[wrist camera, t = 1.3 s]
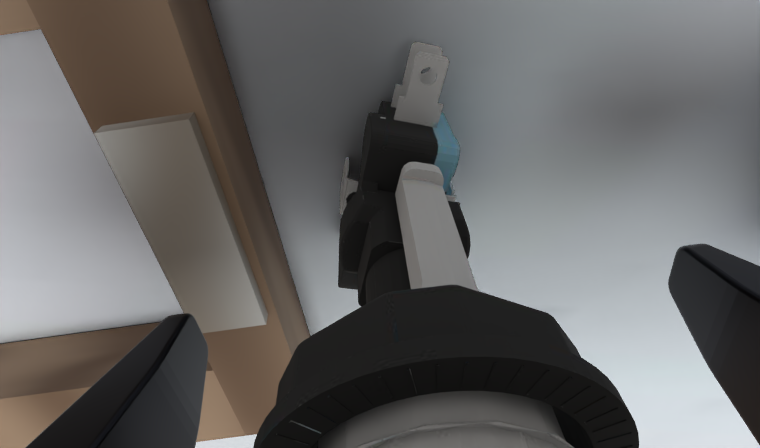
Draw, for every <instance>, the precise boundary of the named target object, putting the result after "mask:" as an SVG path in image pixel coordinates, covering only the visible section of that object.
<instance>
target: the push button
mask: <svg viewBox="0 0 760 448" xmlns="http://www.w3.org/2000/svg"><path fill="white" fill-rule="evenodd" d="M442 53H443V51H442V50H441V48H440V47H438V46H433V45H429V44H424V43H419V42H414V43H413V44H411V48H410V52H409V56H408V61H407V65H406V69H405V73H404V77H403V81H402V85H400V84H396V86H395V90H394V94H393V99H392V103H391V102H385V101H382V102H381V104H380V108H379V112H378V114H377V113H372V112H370V113H369V114H368V117H367V122H366V127H365V132H364V139H363V150H362V161H361V171H360V177H359V181H357V180H351V179H349V158H348V157H346V159H345V164H344V170H343V175H342V180H341V187H340V212H339V214H340V215H342V218H341V223H340V238H339V276H338V286H339V287H340V288H348V289H357V290H358V303H359V305H360V306H361V307H360V308H359V309H357V310H355V311H353V312H352V313H350V314H348V315H347V316H345V317H343V318H341V319H340V320H338V321H336V322H335V323H333V324H331V325H329V326H328V327H326V328H324V329H323V330H321V331H319V332H317V333H316V334H314V335H312V336H310V337H309V338H307V339H305V340H304V341H302V342H301V343H300V344H299V345H298V346H297V348H296V350H295V352H294V354H293V356H292V358H291V360H290V362H289V364H288V366H287V368H286V370H285V372H284V374H283V376H282V378H281V380H280V382H279V385H278V391H277V398H276V405H275V406H274V408H273V409H272V410H271V411H270V413H269V414H268V415H267V417H266V418H265V420H264V422H263V423H262V425H261V427H260V429H259V431H258V434H257V436H256V439H255V442H254V448H639V438H638V431H637V428H636V424H635V421H634V420H633V418H632V416H631V414H630V412H629V410H628V409H627V407H626V405H625V403H624V401H623V400H622V398H621V396H620V394H619V392H618V391H617V389H616V387H615V386H614V385H613V384H612V382H611V381H610V380H609V379H608V377H606V376H605V375H604V374H603V373H602V372H601V371H600V370H599V369H597V368H596V367H595V366H593V365H592V364H590V363H589V362H587V361H586V360H584V359H583V358H581V356H580V354H579V353H578V351H577V349H576V347H575V346H574V345H573V343H572V342H571V340H570V339H569V338H568V336H567V335H566V334H565V332H564V331H563V330H562V328H561V327H560V325H559V324H558V323H557V321H556V320H555V319H554V317H552V316H551V315H549V314H548V313H545V312H542V311H539V310H536V309H533V308H529V307H526V306H523V305H520V304H517V303H514V302H511V301H507V300H504V299H501V298H498V297H495V296H492V295H488V294H485V293H482V292H479V290H478V288H477V286H476V283H475V280H474V277H473V274H472V271H471V268H470V265H469V262H468V260H467V259H468V256H469V251H470V235H469V231H468V228H467V225H466V222H465V219H464V216H463V214H462V211H461V208H460V206H459V205H460V203H459V202H455V199H456V195H454V189H453V186H452V183H451V178H452V176H454V173H455V170H456V167H457V164H458V160H459V156H460V146H459V143H458V141H457V139H455V137H454V135H453V133H452V131H451V129H450V126H449V124H448V122H447V120H446V118H445V116H444V114H443V113H442V108H443V104H440V103H438V100H439V97H440V93H441V90H442V86H443V83H444V79H445V76H446V73H447V69H448V66H449V60H448V58H447V57H445V56H442ZM425 68H430V69H429V70H428V71H427V72H425V73H421V71H422V70H423V69H425ZM435 78H436V79H435Z"/></svg>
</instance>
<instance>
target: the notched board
mask: <svg viewBox="0 0 760 448" xmlns="http://www.w3.org/2000/svg"><path fill="white" fill-rule="evenodd" d="M38 29H41V30H42V32H43V34H44V36H45V38H46V40H47V42H48V44H49V46H50V48H51V50H52V52H53V54H54V56H55V58H56V60H57V62H58V64H59V66H60V68H61V70H62V72H63V74H64V76H65V78H66V80H67V82H68V84H69V86H70V88H71V90H72V92H73V94H74V96H75V98H76V100H77V102H78V104H79V106H80V108H81V110H82V112H83V113H84V115H85V117H86V119H87V121H88V123H89V125H90V127H91V129H92V131H93V133H94V135H95V137H96V139H97V141H98V143H99V145H100V147H101V149H102V151H103V153H104V155H105V157H106V159H107V161H108V163H109V165H110V167H111V169H112V171H113V173H114V175H115V177H116V179H117V181H118V183H119V185H120V187H121V189H122V191H123V193H124V195H125V197H126V199H127V201H128V203H129V205H130V207H131V209H132V211H133V213H134V215H135V217H136V219H137V221H138V223H139V225H140V227H141V229H142V231H143V233H144V235H145V237H146V238H147V240H148V242H149V244H150V246H151V248H152V250H153V252H154V254H155V256H156V258H157V260H158V262H159V264H160V266H161V268H162V270H163V272H164V274H165V276H166V278H167V280H168V282H169V284H170V286H171V288H172V290H173V292H174V294H175V296H176V298H177V300H178V302H179V304H180V306H181V308H182V310H183V312H184V314H185V313H189V314H192V315H193V316H194V318H195V319H196V321H197V323H198V326H199V328H200V330H201V332H202V334H203V336H204V338H205V340H206V342H207V345H208V361H207V369H206V377H205V385H204V393H203V401H202V409H201V417H200V424H199V431H198V435H197V440H196V442H200V441H207V440H215V439H223V438H230V437H238V436H245V435H253V434H258V431H259V429H260V427H261V425H262V423H263V422H264V420H265V418H266V417H267V415H268V414H269V413H270V411H271V410H272V409H273V408H274V406H275V405H276V398H277V391H278V385H279V382H280V380H281V378H282V376H283V374H284V372H285V370H286V368H287V366H288V364H289V362H290V360H291V358H292V356H293V354H294V352H295V350H296V348H297V346H298V345H299V344H300V343H301V342H302V341H304V340H305V339H307V338H309V337H310V334H309V331H308V328H307V324H306V321H305V318H304V315H303V311H302V308H301V305H300V302H299V298H298V295H297V292H296V289H295V285H294V282H293V279H292V276H291V272H290V269H289V266H288V263H287V259H286V256H285V253H284V250H283V246H282V243H281V240H280V237H279V233H278V230H277V227H276V224H275V220H274V217H273V214H272V211H271V207H270V204H269V201H268V198H267V194H266V191H265V188H264V185H263V181H262V178H261V175H260V172H259V168H258V165H257V162H256V159H255V155H254V152H253V149H252V146H251V142H250V139H249V136H248V133H247V129H246V126H245V123H244V120H243V116H242V113H241V110H240V107H239V103H238V100H237V97H236V94H235V90H234V87H233V84H232V81H231V77H230V74H229V71H228V68H227V64H226V61H225V58H224V55H223V51H222V48H221V45H220V42H219V38H218V35H217V32H216V29H215V25H214V22H213V19H212V16H211V12H210V9H209V6H208V3H207V0H0V35H5V34H12V33H18V32H25V31H31V30H38ZM160 323H161V322H158V323H151V324H143V325H136V326H129V327H121V328H114V329H107V330H100V331H92V332H85V333H78V334H70V335H63V336H56V337H49V338H41V339H34V340H27V341H19V342H12V343H5V344H0V448H25V447H26V446H27V445H28V444H30V443H31V442H32V441H33V440H34V439H35V438H36V437H37V436H38V435H39V434H40V433H41V432H43V431H44V430H45V429H46V428H47V427H48V426H49V425H50V424H51V423H52V422H53V421H55V420H56V419H57V418H58V417H59V416H60V415H61V414H62V413H63V412H64V411H65V410H66V409H68V408H69V407H70V406H71V405H72V404H73V403H74V402H75V401H76V400H77V399H78V398H79V397H81V396H82V395H83V394H84V393H85V392H86V391H87V390H88V389H89V388H90V387H91V386H93V385H94V384H95V383H96V382H97V381H98V380H99V379H100V378H101V377H102V376H103V375H104V374H106V373H107V372H108V371H109V370H110V369H111V368H112V367H113V366H114V365H115V364H116V363H117V362H119V361H120V360H121V359H122V358H123V357H124V356H125V355H126V354H127V353H128V352H129V351H131V350H132V349H133V348H134V347H135V346H136V345H137V344H138V343H139V342H140V341H141V340H142V339H144V338H145V337H146V336H147V335H148V334H149V333H150V332H151V331H152V330H153V329H154V328H155V327H157V326H158V325H159V324H160Z"/></svg>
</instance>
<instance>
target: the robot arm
mask: <svg viewBox="0 0 760 448" xmlns="http://www.w3.org/2000/svg"><path fill="white" fill-rule="evenodd" d="M668 285H669V290H670V293H671V296H672V297H673V299H674V301H675V303H676V305H677V307H678V309H679V311H680V313H681V315H682V317H683V319H684V321H685V323H686V325H687V327H688V329H689V331H690V333H691V335H692V336H693V338H694V340H695V342H696V344H697V346H698V348H699V350H700V352H701V354H702V356H703V358H704V359H705V361H706V363H707V365H708V367H709V368H710V370H711V371H712V373H713V375H714V376H715V378H716V379H717V381H718V382H719V384H720V385H721V387H722V388H723V390H724V391H725V393H726V395H727V396H728V398H729V399H730V401H731V402H732V404H733V405H734V407H735V408H736V410H737V411H738V413H739V414H740V416H741V417H742V419H743V420H744V422H745V423H746V425H747V427H748V428H749V430H750V431H751V433H752V434H753V436H754V437H755V439H756V440H757V442H758V443H759V445H760V266H758V265H755V264H753V263H751V262H748V261H746V260H743V259H741V258H738V257H736V256H734V255H731V254H729V253H726V252H724V251H722V250H719V249H717V248H714V247H712V246H710V245H707V244H695V245H687V246H682V247H680V248H679V249H678V250H677V252H676V255H675V259H674V262H673V266H672V269H671V273H670V277H669V281H668ZM207 361H208V345H207V342H206V340H205V338H204V336H203V334H202V332H201V330H200V328H199V326H198V323H197V321H196V319H195V318H194V316H193V315H192V314H189V313H185V314H177V315H171V316H168V317H167V318H165V319H164V320H163V321H162V322H161V323H160V324H159V325H158V326H157V327H155V328H154V329H153V330H152V331H151V332H150V333H149V334H148V335H147V336H146V337H145V338H144V339H142V340H141V341H140V342H139V343H138V344H137V345H136V346H135V347H134V348H133V349H132V350H131V351H129V352H128V353H127V354H126V355H125V356H124V357H123V358H122V359H121V360H120V361H119V362H117V363H116V364H115V365H114V366H113V367H112V368H111V369H110V370H109V371H108V372H107V373H106V374H104V375H103V376H102V377H101V378H100V379H99V380H98V381H97V382H96V383H95V384H94V385H93V386H91V387H90V388H89V389H88V390H87V391H86V392H85V393H84V394H83V395H82V396H81V397H79V398H78V399H77V400H76V401H75V402H74V403H73V404H72V405H71V406H70V407H69V408H68V409H66V410H65V411H64V412H63V413H62V414H61V415H60V416H59V417H58V418H57V419H56V420H55V421H53V422H52V423H51V424H50V425H49V426H48V427H47V428H46V429H45V430H44V431H43V432H41V433H40V434H39V435H38V436H37V437H36V438H35V439H34V440H33V441H32V442H31V443H30V444H28V445H27V446H26V447H25V448H195V445H196V440H197V435H198V431H199V424H200V417H201V409H202V401H203V393H204V385H205V377H206V369H207Z"/></svg>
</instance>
